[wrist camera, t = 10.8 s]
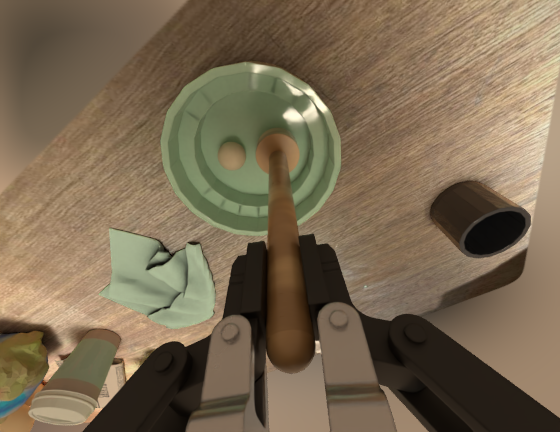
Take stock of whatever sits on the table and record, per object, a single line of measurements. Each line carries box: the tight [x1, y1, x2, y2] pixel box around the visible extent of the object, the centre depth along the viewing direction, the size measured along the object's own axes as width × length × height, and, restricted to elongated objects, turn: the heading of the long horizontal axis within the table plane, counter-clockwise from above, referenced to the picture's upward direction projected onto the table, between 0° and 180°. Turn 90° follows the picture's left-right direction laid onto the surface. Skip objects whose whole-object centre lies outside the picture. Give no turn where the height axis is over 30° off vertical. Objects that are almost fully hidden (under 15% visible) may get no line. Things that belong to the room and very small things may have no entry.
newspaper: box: [55, 358, 126, 408], centre depth 54 cm, size 23×12×2 cm, turn 164°
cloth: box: [99, 228, 216, 329], centre depth 36 cm, size 20×22×2 cm
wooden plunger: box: [256, 128, 316, 374], centre depth 15 cm, size 4×4×20 cm
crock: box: [430, 181, 531, 258], centre depth 28 cm, size 7×7×6 cm
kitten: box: [0, 383, 44, 432], centre depth 48 cm, size 15×10×15 cm
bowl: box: [160, 60, 341, 236], centre depth 23 cm, size 15×15×6 cm
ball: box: [218, 142, 246, 170], centre depth 24 cm, size 3×3×3 cm
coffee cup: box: [28, 329, 121, 425], centre depth 40 cm, size 8×9×12 cm
